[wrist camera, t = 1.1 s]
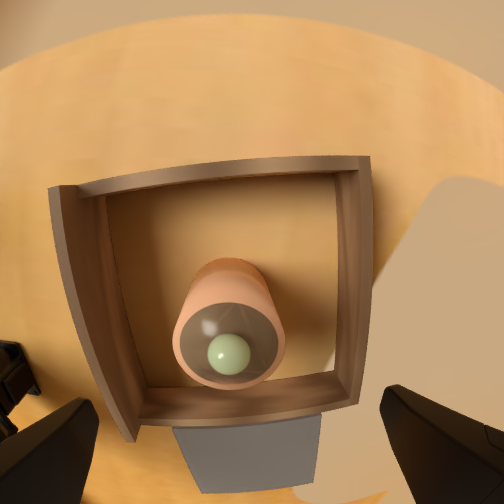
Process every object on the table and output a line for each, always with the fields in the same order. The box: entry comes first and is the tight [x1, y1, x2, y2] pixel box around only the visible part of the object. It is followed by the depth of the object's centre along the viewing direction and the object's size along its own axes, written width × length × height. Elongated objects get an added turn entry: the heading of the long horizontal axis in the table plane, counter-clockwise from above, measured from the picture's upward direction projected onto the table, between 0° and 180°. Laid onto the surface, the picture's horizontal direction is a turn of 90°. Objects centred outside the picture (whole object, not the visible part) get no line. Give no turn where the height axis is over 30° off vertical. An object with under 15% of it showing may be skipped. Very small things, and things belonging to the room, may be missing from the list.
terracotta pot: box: [173, 258, 286, 390], centre depth 16 cm, size 6×6×9 cm
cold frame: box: [48, 156, 373, 443], centre depth 17 cm, size 18×18×6 cm
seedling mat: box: [172, 413, 322, 493], centre depth 24 cm, size 14×14×1 cm
